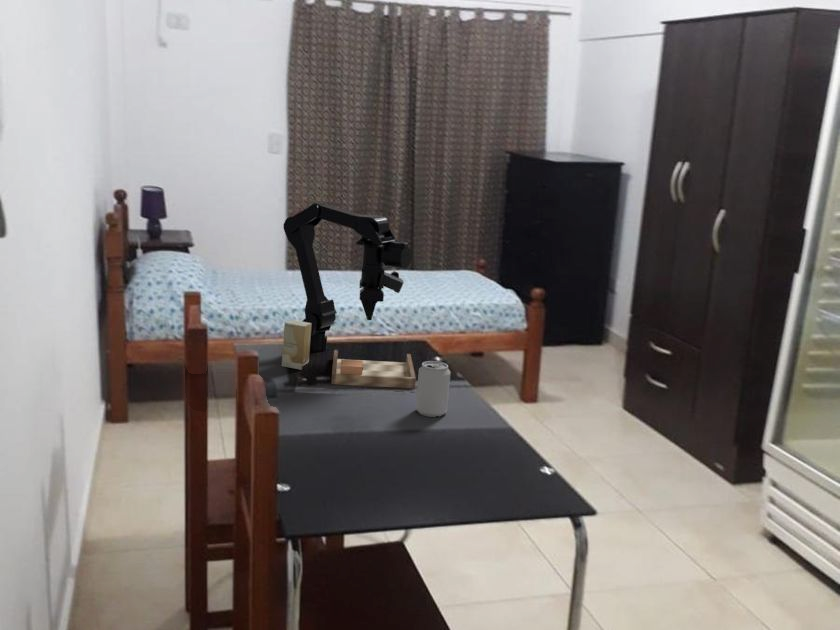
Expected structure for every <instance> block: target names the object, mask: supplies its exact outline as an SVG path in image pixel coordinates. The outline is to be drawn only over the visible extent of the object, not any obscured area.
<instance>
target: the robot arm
mask: <svg viewBox="0 0 840 630" xmlns="http://www.w3.org/2000/svg"><path fill="white" fill-rule="evenodd" d="M322 221H326V222H330V223H333V224H336V225H340V226H343V227H346V228H349V229H351V230H353V231H354V232H355V233H356V234H357V235H360V236H361V238H360V239H358V240H357V241H356V242H355V244H356V245H358V246H363V247H362V259H361V262H362V263H361V277H360V279H359V289H360V290H359V300H360V302H361V305H362V308H363V311H364V314H365V317H366V320H367V321H372V319H373V315H374V312H375V308H376V305H377V303H378V302H380V303H381V302H384V297H385V293H384V290H383V289H384V287H385V288H387V289H390V290H392V291H393V292H395V293H396V294H400V292H401V290H402V287H403V285H404V279H402V278H400V274H399V272H397V271H395V270H393V271H391V273H389V272H385V271H386V270H385V267H384V265H385V266H386V267H392V268H397V269H405V270H406V269H408V268H409V267H410V265H411V263H412V259H413V255H412V252H411V251H412V250H411V249H410V248H409V243H408V242H405V241H404V242H403V241H402V242H401V241H398V240H397V238H396V236H395V235H394V233H393V231H392V228H391V227H390V222H389V221H388V218H387V217H385V216H383V215H376V214H360V213H356V212H353V211H350V210H346V209H343V208H340V207H336V206H334V205H331V204H327V203H325V202H313V203H312V204H311V205H310V206H308V207H307V208H305V209H302V210H301V211H300V212H297V213H296V214H295V215H292V216H288V217H287V218H286V219H285V220H284V223H283V231H284V233H285V237H286V239H287V241H288V242H289V243H290V245H291V246H292V247H293V249H294V250H295V253H296V257H297V259H296V260H297V262H298V265H299V271H300V275H301V279H302V283H303V288H304V291H305V295H306V296H305V297H306V301H305V302H306V303H305V305H304V306H305V308H304V317H305V318H304V319H303V320H302V321H303V322H307V323H312V325H311V338H310V351H309V352H311V353H315V352H324V351H325V352H326V351H327V348H328V336H327V335H326V332H327V331H330V330H331V327H332V326H333V324H334V322H335V321H336V319H337V318H336V314H337V313H338V312H337V310H336V308H335V302H334V301H335V300H334V299H330V300H329V299H328V298H327V297H326V295H325V292H324V288H323V284H322V279H321V275H320V271H319V266H318V262H317V258H316V254H315V249H314V246H313V245H314V244H313V243H314V241H315V236H316V231H315V228H316V227H317V226H318V225H320V223H321V222H322Z"/></svg>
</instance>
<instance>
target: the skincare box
mask: <svg viewBox="0 0 840 630" xmlns="http://www.w3.org/2000/svg"><path fill="white" fill-rule="evenodd" d="M311 325H312V323H307V322H303V320H294V319H290V320H287V321H285V322H284V327H283V340H282V343H283V344H282V354H281V355H282V356H281V367H283V368H284V367H285V368H291V369H295V370H300V371H301V370H303V366H305V365H306V364H308V363H309V361H310V352H311V351H310V338H311Z"/></svg>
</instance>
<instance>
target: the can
mask: <svg viewBox="0 0 840 630" xmlns="http://www.w3.org/2000/svg"><path fill="white" fill-rule="evenodd" d="M417 376H418V378H417V388H416V389H417V390H416V401H415V409H416V411H417V412H418V413H419V414H420V415H421V416H425V417H429V418H430V417H431V418H437V417H436V416H438V417H441V416H444V414H446V413H447V411H448V407H449V406H448V405H449V404H448V402H449V393H450V382H451V370H450V369H449V365H448V364H447V363H445V362H443V361H438V360H428V361H423V362H422V363H421V366H420V368H418V375H417Z"/></svg>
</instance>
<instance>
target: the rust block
mask: <svg viewBox="0 0 840 630" xmlns="http://www.w3.org/2000/svg"><path fill="white" fill-rule="evenodd" d="M357 360H358V359H347V360H341V367H340V374H358V375H362V370H363V361H357Z"/></svg>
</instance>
